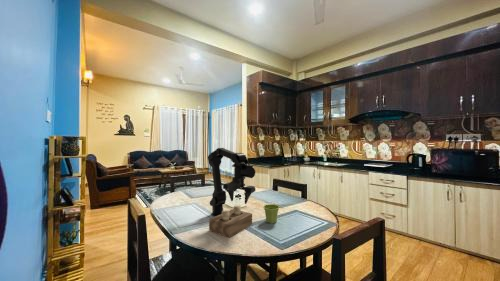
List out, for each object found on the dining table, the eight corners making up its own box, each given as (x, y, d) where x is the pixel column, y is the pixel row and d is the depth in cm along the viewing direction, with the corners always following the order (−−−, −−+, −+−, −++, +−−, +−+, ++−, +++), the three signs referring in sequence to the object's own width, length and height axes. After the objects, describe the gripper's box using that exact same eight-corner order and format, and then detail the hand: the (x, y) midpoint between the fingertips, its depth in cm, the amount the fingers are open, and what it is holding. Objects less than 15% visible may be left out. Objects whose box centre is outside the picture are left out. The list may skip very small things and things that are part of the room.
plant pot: (266, 225, 115) (266, 209, 115) (261, 219, 124) (261, 204, 124) (281, 223, 117) (281, 208, 117) (275, 217, 126) (275, 203, 126)
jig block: (209, 230, 108) (209, 219, 108) (233, 218, 124) (233, 208, 124) (229, 237, 100) (229, 225, 100) (252, 224, 116) (252, 213, 116)
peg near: (220, 221, 107) (220, 211, 107) (225, 219, 110) (225, 209, 111) (225, 223, 105) (225, 213, 105) (230, 220, 108) (230, 211, 108)
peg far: (232, 215, 115) (232, 206, 115) (236, 213, 119) (236, 205, 119) (237, 217, 113) (237, 208, 113) (242, 215, 116) (242, 206, 116)
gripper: (217, 175, 114) (216, 203, 114) (246, 179, 104) (245, 209, 105) (228, 172, 123) (228, 198, 124) (256, 176, 114) (255, 204, 114)
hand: (238, 202), depth 116 cm, fingers open, 9 cm apart
